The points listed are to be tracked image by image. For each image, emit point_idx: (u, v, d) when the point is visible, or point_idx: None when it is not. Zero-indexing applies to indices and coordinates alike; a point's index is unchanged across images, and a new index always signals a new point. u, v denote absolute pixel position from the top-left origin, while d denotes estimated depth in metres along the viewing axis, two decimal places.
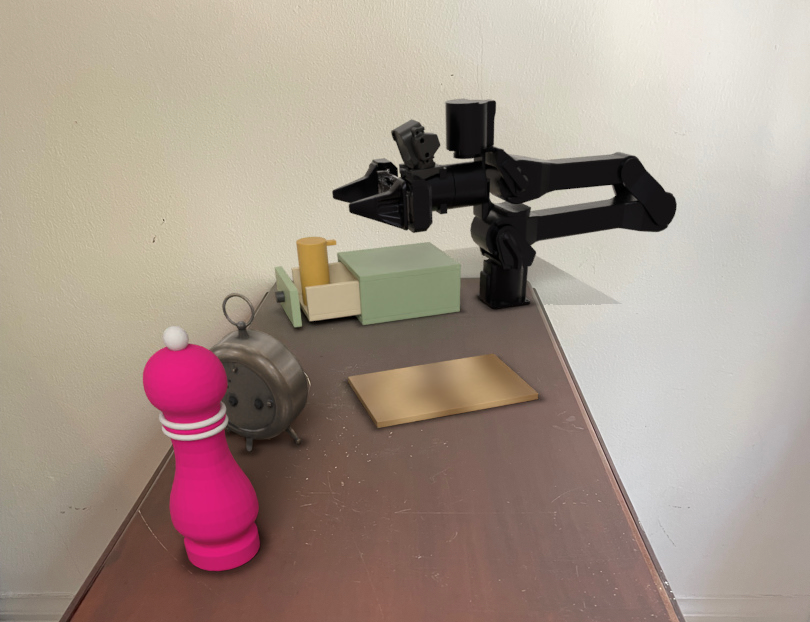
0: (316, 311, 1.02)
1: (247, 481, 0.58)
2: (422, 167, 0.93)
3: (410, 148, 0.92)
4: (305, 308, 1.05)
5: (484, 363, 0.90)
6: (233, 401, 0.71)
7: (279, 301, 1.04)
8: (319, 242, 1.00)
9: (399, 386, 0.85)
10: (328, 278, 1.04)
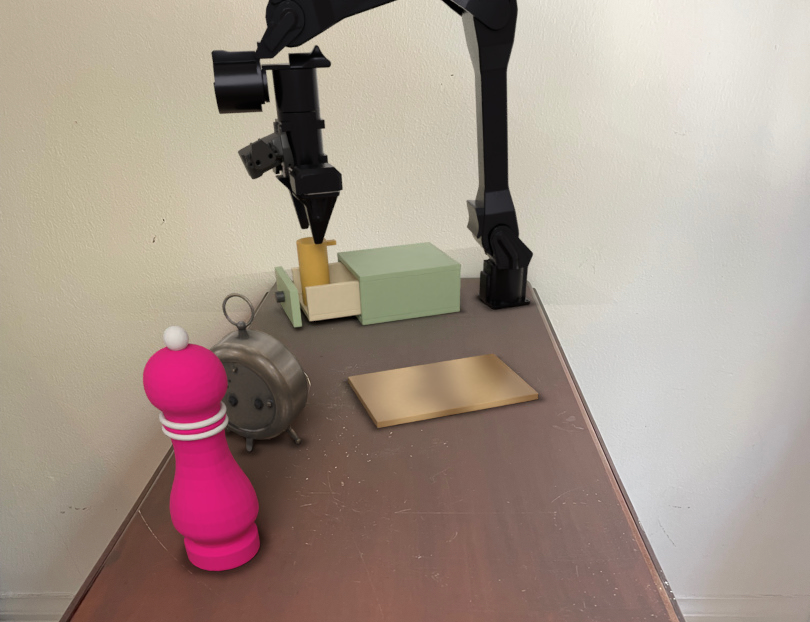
0: (316, 311, 1.02)
1: (247, 480, 0.58)
2: (281, 155, 0.91)
3: (264, 168, 0.92)
4: (305, 308, 1.05)
5: (484, 363, 0.90)
6: (233, 401, 0.71)
7: (279, 301, 1.04)
8: None
9: (399, 386, 0.85)
10: (328, 278, 1.04)
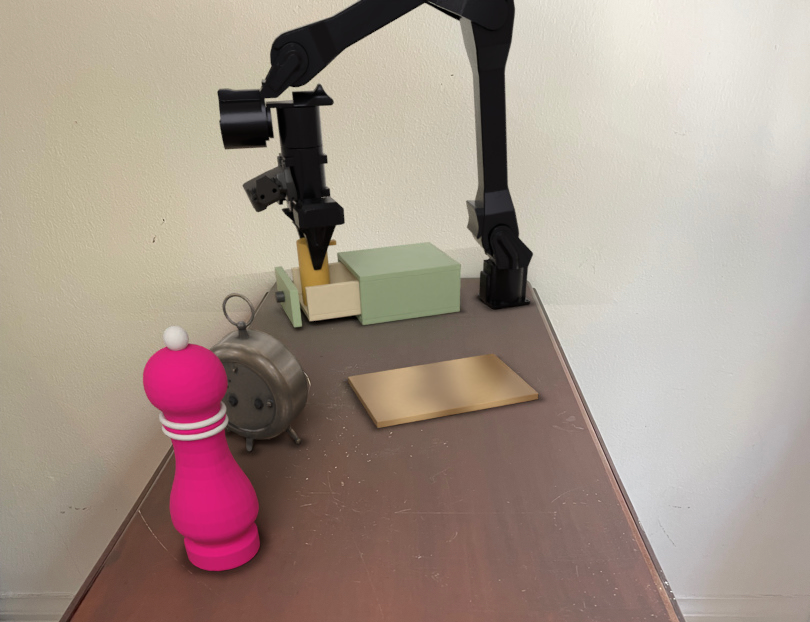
0: (316, 311, 1.02)
1: (247, 481, 0.58)
2: (285, 189, 0.94)
3: None
4: (305, 308, 1.05)
5: (484, 363, 0.90)
6: (233, 401, 0.71)
7: (279, 301, 1.04)
8: None
9: (399, 386, 0.85)
10: (328, 278, 1.04)
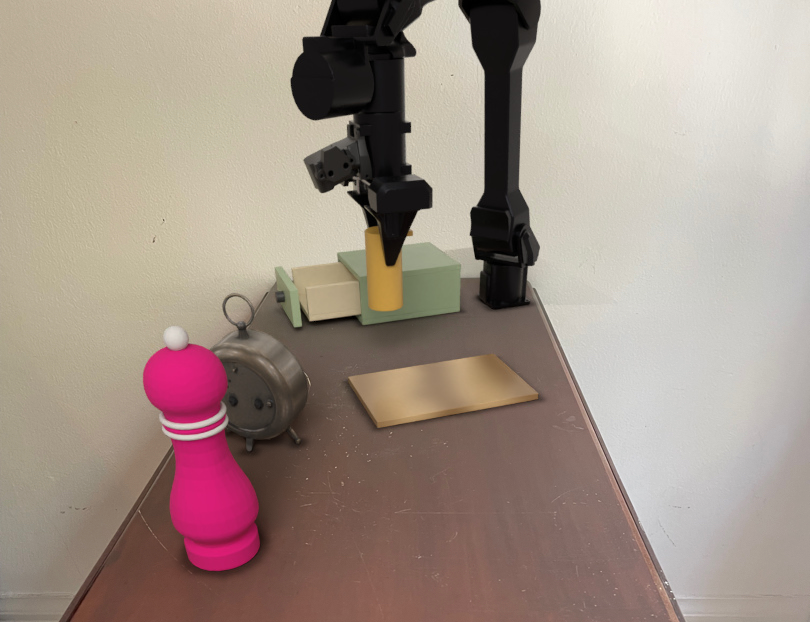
0: (316, 311, 1.02)
1: (247, 481, 0.58)
2: (357, 164, 0.75)
3: (336, 180, 0.76)
4: (305, 308, 1.05)
5: (484, 363, 0.90)
6: (233, 401, 0.71)
7: (279, 301, 1.04)
8: None
9: (399, 386, 0.85)
10: (401, 276, 0.85)
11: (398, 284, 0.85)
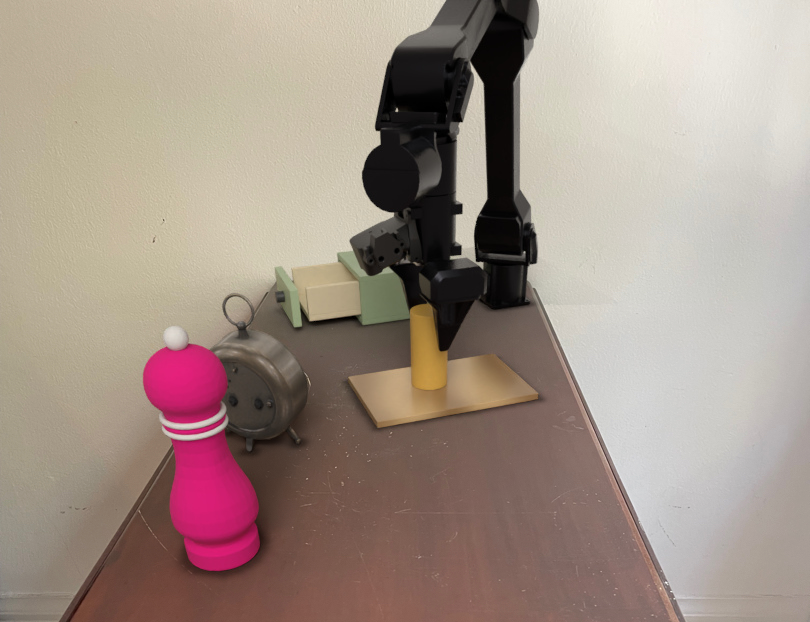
0: (316, 311, 1.02)
1: (247, 481, 0.58)
2: (407, 247, 0.73)
3: None
4: (305, 308, 1.05)
5: (484, 363, 0.90)
6: (233, 401, 0.71)
7: (279, 301, 1.04)
8: None
9: (399, 386, 0.85)
10: (446, 355, 0.83)
11: (443, 363, 0.83)
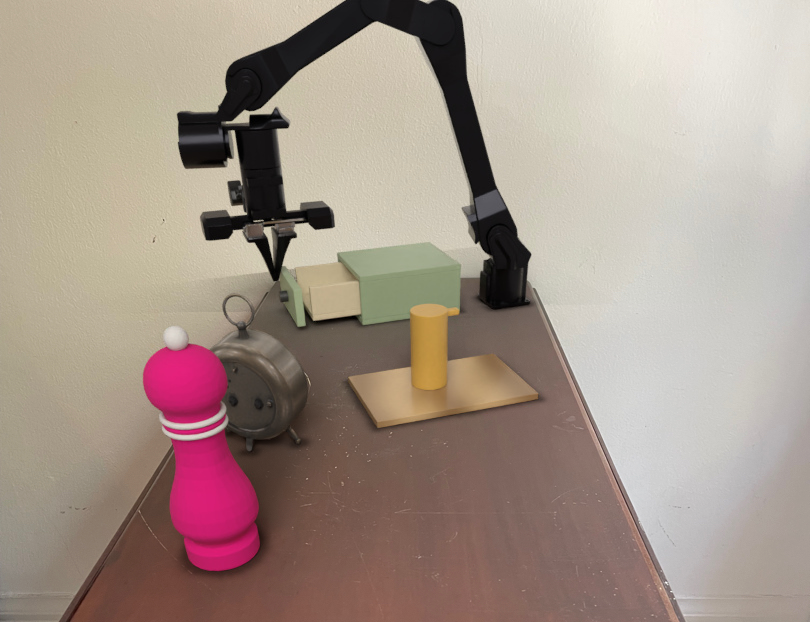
0: (320, 311, 1.02)
1: (247, 481, 0.58)
2: None
3: None
4: (309, 308, 1.05)
5: (484, 363, 0.90)
6: (233, 401, 0.71)
7: (283, 301, 1.04)
8: (440, 313, 0.79)
9: (399, 386, 0.85)
10: (446, 355, 0.83)
11: (443, 363, 0.83)
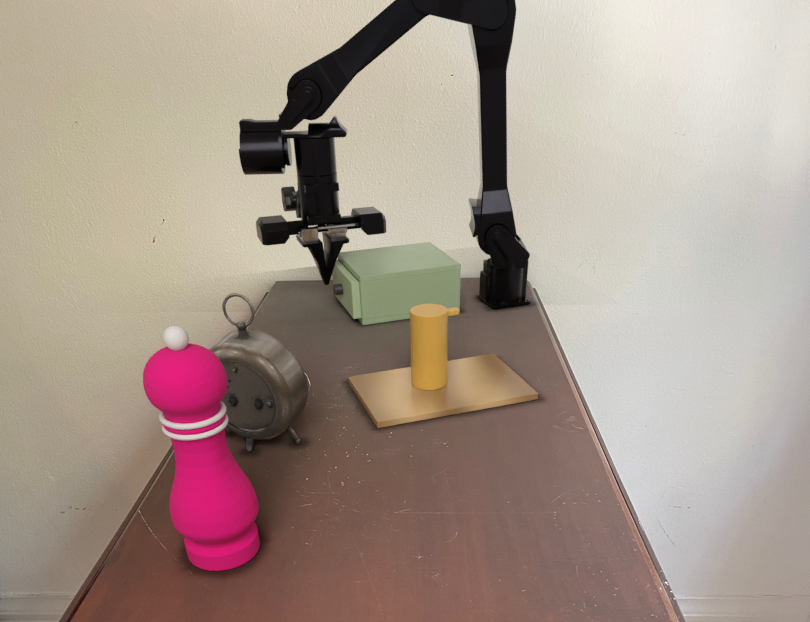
0: None
1: (247, 480, 0.58)
2: (296, 205, 1.04)
3: (297, 212, 1.07)
4: None
5: (484, 363, 0.90)
6: (233, 401, 0.71)
7: (337, 293, 1.06)
8: (440, 313, 0.79)
9: (399, 386, 0.85)
10: (446, 355, 0.83)
11: (443, 363, 0.83)
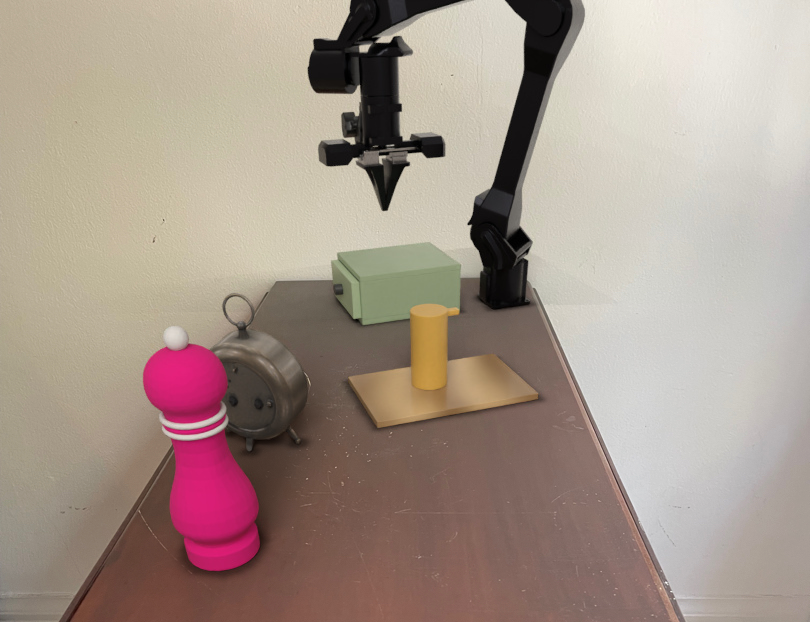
0: None
1: (247, 481, 0.58)
2: None
3: (356, 138, 1.09)
4: None
5: (484, 363, 0.90)
6: (233, 401, 0.71)
7: (337, 293, 1.06)
8: (440, 313, 0.79)
9: (399, 386, 0.85)
10: (446, 355, 0.83)
11: (443, 363, 0.83)
